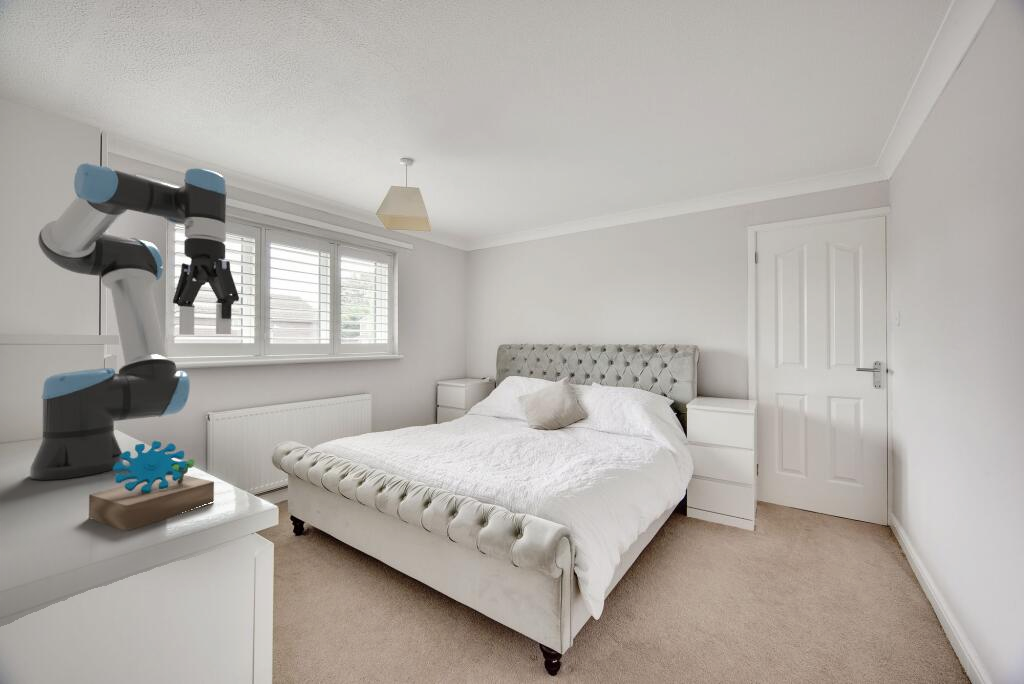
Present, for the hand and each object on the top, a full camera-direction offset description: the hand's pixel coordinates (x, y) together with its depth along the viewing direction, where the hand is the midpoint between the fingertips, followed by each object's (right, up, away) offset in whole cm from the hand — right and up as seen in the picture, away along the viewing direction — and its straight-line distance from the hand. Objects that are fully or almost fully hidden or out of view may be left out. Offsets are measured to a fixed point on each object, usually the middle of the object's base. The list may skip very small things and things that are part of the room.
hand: (204, 334), depth 96 cm
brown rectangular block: (+6, -32, -21) cm, 38 cm away
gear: (+6, -28, -20) cm, 35 cm away
